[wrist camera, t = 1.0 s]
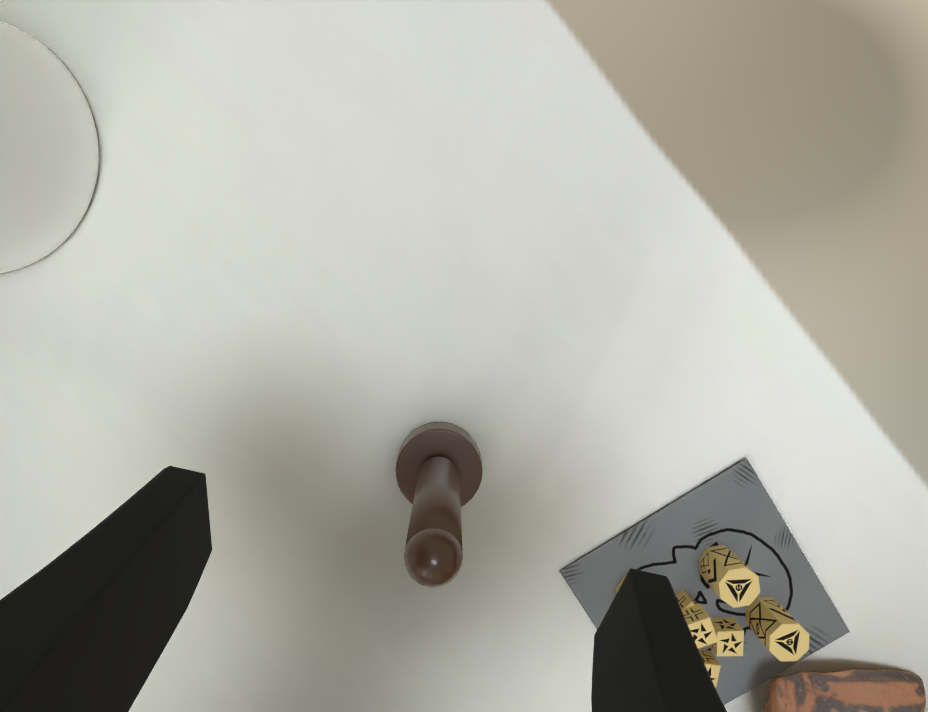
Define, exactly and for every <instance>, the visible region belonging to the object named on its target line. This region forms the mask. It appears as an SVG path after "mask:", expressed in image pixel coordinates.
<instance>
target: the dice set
mask: <svg viewBox="0 0 928 712" xmlns="http://www.w3.org/2000/svg"><path fill="white" fill-rule="evenodd" d="M698 562H699V568H700V569H699V572H700V575H701V577H702V578H703V579H704V580H705V582H706V583H707V584H708V585H709V586H710V588H711V589H712V590H713V591H714V593H715V594H716V595H717V596H718V597H719V599H720V600H722V601H723V602H724V603H726V604H727V605H729V606H730V607H732V608H733V609H736V608H742V607H747V608H746V625H747V626H748V627H749V628H750V630H751V631H752V632H753V633H754V634H755V636H756V637H757V638H758V639H759V640H760V642H761V643H762V644H763V645H764V646H765V648H766V649H767V650H768V651H769V652H770V653H771V654H772V655H773V656H774V657H775V658H776V659H777V660H778V661H780V662H781V663H782V662H798V661H800V660H802V659H803V656H804V655H805V654H806V653H807V652H808V651H809V650H810V633H809V632H808V631H807V630H806V629H805V628H804V627H803V626H802V625H801V624H800V623H799V622H798V621H797V620H796V619H795V618H794V617H793V616H792V615H791V614H790V613H789V612H788V611H787V610H786V609H785V608H784V607H783V606H782V605H781V604H780V603H779V602H778V601H777V600H776V599H775V598H758V599H757V600H756V598H757V597H758V596H759V595H760V593H761V585H760V577H759V576H758V575H757V574H756V573H755V572H754V571H753V570H752V569H751V568H750V567H749V566H748V565H747V564H746V563H745V562H744V561H743V560H742V559H741V558H740V557H739V556H738V555H737V554H736V553H735V552H734V551H732V550H731V549H729V548H728V547H726V546H725V545H724V544H723V545H716V546H711V547H708V548H707V549H706V550H705V552H704V553H703V555H702V556H701V558H700V559H699V560H698ZM676 598H677V600H678V602H679V605H680V607H681V610H682V612H683V615H684V617H685V620H686V622H687V624H688V627H689V629H690V632H691V634H692V636H693V639H694V641H695V643H696V646H697V648H698V650H699V652H700V655H701V657H702V659H703V662H704V664H705V666H706V668H707V671H708V673H709V675H710V677H711V679H712V682H713V684H714V686H715V688H717V686H718V681H719V676H720V672H721V667H722V665H721V664H720V662H719V661H718V659H717V658H718V657H743V656H744V645H745V630H744V629H743V628H742V627H741V625H740V624H739V623H738V622H737V620H736V619H735V618H711V617H710V615H709V614H708V613H707V611H706V610H705V608H704V607H703V606H702V604H701V603H700V602H699V603H697V602H696V601H695V600H694V599H693V598H692V597H691V596H690V595H689V594H688V593H687V592H686V591H685V590H681V591H680V592H679V593H678V594H677V595H676ZM707 646H709V647H710V649H711V650H712V651H710V650H703V649H702V648H704V647H707Z"/></svg>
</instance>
